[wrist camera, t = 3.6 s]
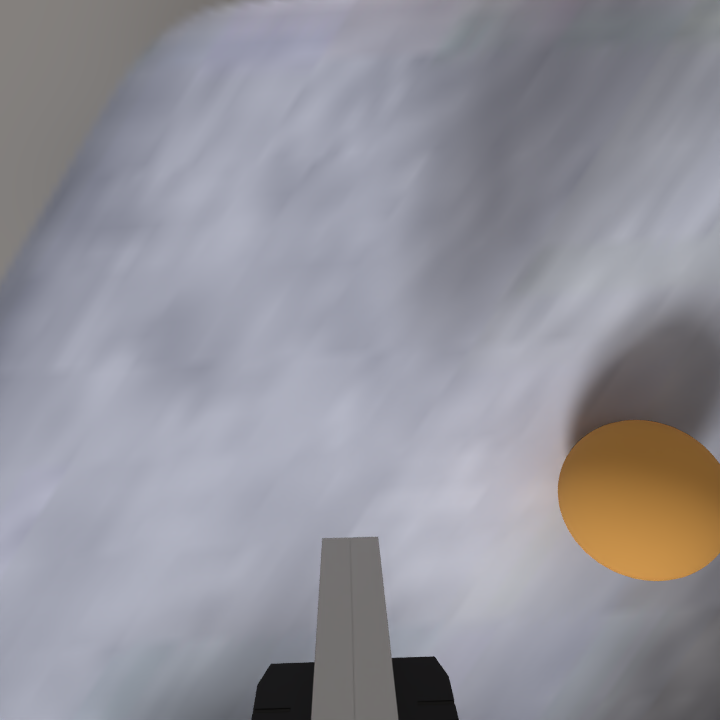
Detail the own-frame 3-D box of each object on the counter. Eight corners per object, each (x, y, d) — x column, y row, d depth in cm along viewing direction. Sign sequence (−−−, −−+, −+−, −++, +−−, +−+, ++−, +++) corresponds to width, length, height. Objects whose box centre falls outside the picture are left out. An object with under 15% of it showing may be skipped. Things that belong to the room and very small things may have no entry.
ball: (681, 397, 21) (794, 458, 16) (662, 521, 22) (759, 616, 17) (542, 400, 21) (608, 462, 16) (532, 524, 22) (589, 620, 17)
